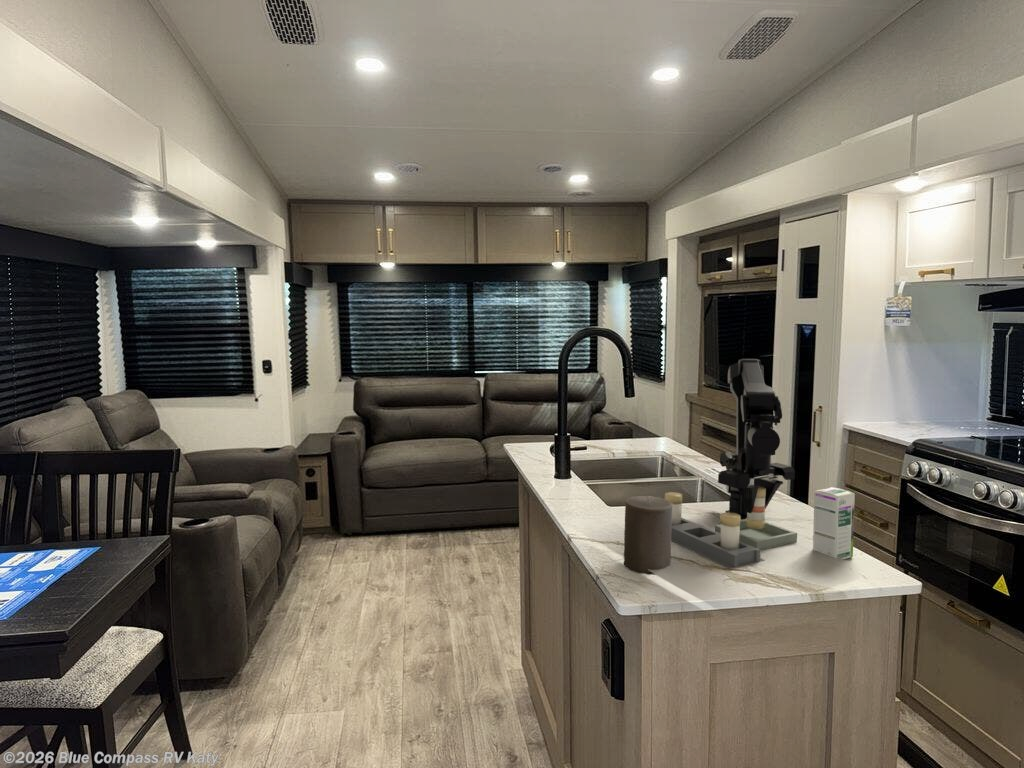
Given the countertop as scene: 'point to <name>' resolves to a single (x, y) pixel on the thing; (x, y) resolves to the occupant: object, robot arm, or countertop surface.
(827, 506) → the syrup box
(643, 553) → the pillar candle
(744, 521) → the tray
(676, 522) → the cylinder
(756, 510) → the cylinder
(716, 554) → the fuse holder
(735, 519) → the cylinder
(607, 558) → the countertop surface
